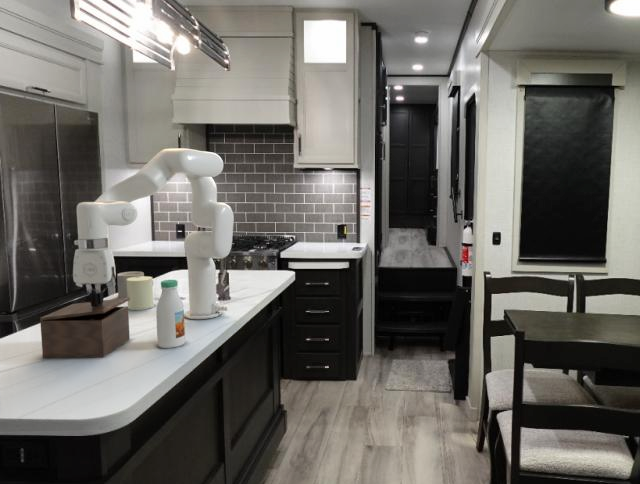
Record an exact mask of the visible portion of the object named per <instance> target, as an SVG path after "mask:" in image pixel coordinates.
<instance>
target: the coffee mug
mask: <svg viewBox="0 0 640 484" xmlns="http://www.w3.org/2000/svg"><path fill="white" fill-rule="evenodd" d="M116 274H117V275H116V278H117V296H118V297H117V299H120V298H128V293H127V279H128V278H132V277H139V276H145V273H144V272H143V271H124V272H119V273H116Z"/></svg>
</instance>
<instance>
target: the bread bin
mask: <svg viewBox="0 0 640 484" xmlns="http://www.w3.org/2000/svg"><path fill="white" fill-rule="evenodd" d="M91 319H93V320H91ZM129 319H130V318H129V309H128V306H117V307H115V308H113V309H111V310H109V311H107V312H105V313H100V314H92V315H84V316H75V317H67V318H59V319H50V320H42V321H39V323H40V335H41V336H40V337H41V349H42V359H72V358H73V359H78V358H79V359H80V358H82V359H83V358H86V359H87V358H92V359H93V358H105V357H107V356H108V355H109V354H112V352H114V351H116V350H117V349H118V348H120V347H122V346H123V345H124V344H126V343H128V342H130V340H131V337H130V320H129Z"/></svg>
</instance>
